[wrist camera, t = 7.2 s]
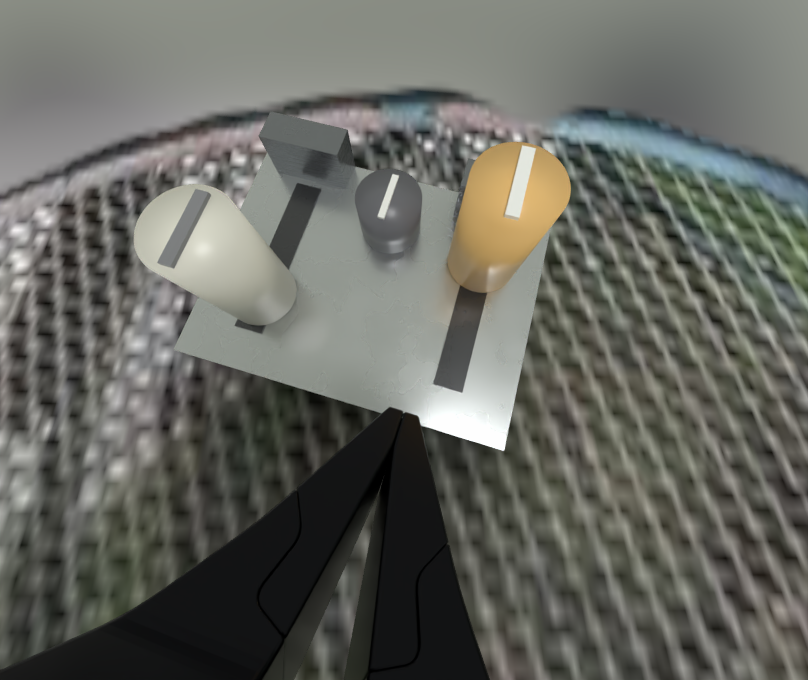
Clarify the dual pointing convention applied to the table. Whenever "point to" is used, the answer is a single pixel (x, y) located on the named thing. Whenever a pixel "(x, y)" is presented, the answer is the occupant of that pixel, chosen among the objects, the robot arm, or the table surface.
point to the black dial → (389, 210)
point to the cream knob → (214, 254)
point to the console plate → (372, 298)
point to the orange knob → (505, 213)
